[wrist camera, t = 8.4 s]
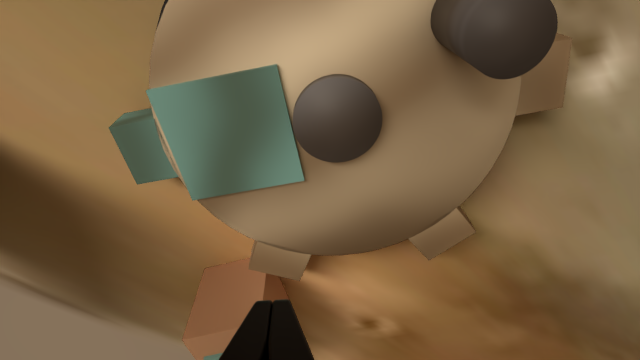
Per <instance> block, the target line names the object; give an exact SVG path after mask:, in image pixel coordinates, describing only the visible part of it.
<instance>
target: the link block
mask: <svg viewBox="0 0 640 360" xmlns="http://www.w3.org/2000/svg"><path fill="white" fill-rule="evenodd" d="M249 262H250V258H247V259H242V260H238V261H234V262H230V263H225V264H221V265H217V266H213V267H208V268H205V269H204V272H203V275H202V279H201V282H200V285H199V288H198V291H197V294H196V297H195V301H194V304H193V307H192V310H191V313H190V316H189V319H188V322H187V326H186V329H185V332H184V335H183V338H182V341H183V342H184V344H185V345H186V347H187V348H188V349H189V351H190V352H191V354H192V355H193V356H194V358H195V359H196V360H219V358H220V357H221V355H222V353H223V352H224V350H225V349H226V347H227V346H228V344H229V342H230V341H231V339H232V338H233V336H234V334H235V333H236V331H237V330H238V328H239V327H240V325H241V323H242V322H243V320H244V319H245V317H246V316H247V314H248V312H249V311H250V309H251V308H252V306H253V305H254V303H255V302H256V301H261V300H271V301H272V302H273V301H274V300H280V299H288V300H289V298H288V295H287V293H286V291H285V289H284V287H283V284H282V282H281V280H280V278H279V276H276V275H271V274H267V273H263V272H258V271H254V270H250V269H248V268H249Z"/></svg>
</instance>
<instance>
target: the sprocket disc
mask: <svg viewBox="0 0 640 360" xmlns="http://www.w3.org/2000/svg"><path fill="white" fill-rule="evenodd" d="M557 23H558V22H557V14H556V10H555V8H554V6H553V4H552V2H551V1H550V0H168V2H167V4H166V6H165V8H164V11H163V14H162V16H161V19H160V22H159V25H158V27H157V30H156V33H155V38H154V43H153V48H152V53H151V59H150V75H149V87H150V89H148V90H146V93H147V95H148V97H149V100H150V102H151V108H149V109H144V110H139V111H134V112H129V113H124V114H123V115H122V116H121V117H120V118H119V119H117V120H116V121H115V122H114V123H113V124H112V125H111V126H110V127H109V129H110V131H111V133H112V135H113V137H114V139H115V141H116V143H117V145H118V147H119V149H120V151H121V153H122V155H123V157H124V159H125V161H126V163H127V165H128V167H129V169H130V171H131V173H132V175H133V177H134V179H135V181H136V183H137V184H142V183H148V182H153V181H159V180H164V179H170V178H175V177H179V178H180V179H181V181H182V182H183V184H184V185H185V187H186V188H187V189H188V191H189V193H190V196H191V198H192V200H198V201H199V202H200V203H201V204H202V205H203V206H204V207H205V208H206V209H207V210H208V211H210V212H211V213H212V214H213V215H214V216H215V217H217V218H218V219H220V220H221V221H222V222H224V223H225V224H227V225H228V226H229V227H231V228H233V229H234V230H236V231H238V232H240V233H242V234H243V235H245V236H247V237H249V238H252V239H254V240H255V241H254V244H253V247H252V251H251V257H250V262H249V268H248V269H250V270H254V271H258V272H263V273H267V274H271V275H276V276H280V277H284V278H289V279H293V280H297V281H300V279H301V277H302V275H303V272H304V270H305V268H306V266H307V263H308V261H309V259H310V257H311V254H312V255H348V254H357V253H363V252H368V251H373V250H377V249H381V248H384V247H387V246H390V245H394V244H397V243H399V242H402V241H404V240H406V239H409V240H410V241H411V242H412V243H413V244H414V246H415V247H416V248H417V249H418V250H419V251H420V252H421V253H422V254H423V255H424V256H425V257H426V258H427V259H428V260H431V259H432V258H434V257H436V256H437V255H439V254H441V253H442V252H444V251H446V250H447V249H449V248H451V247H452V246H454V245H456V244H457V243H459V242H461V241H462V240H464V239H466V238H467V237H469V236H471V235H472V234H474V233H476V231H475V229H474V227H473V226H472V224H471V222H470V221H469V219H468V217H467V216H466V214H465V213H464V211H463V210H462V209H461V208H460V206H459V205H461V204H462V203H463V202H464V201H465V200H466V199H467V198H468V197H469V196H470V195H471V194H472V192H473V191H474V190H475V189H476V188H477V187H478V186H479V185H480V184H481V182H482V181H483V179H484V178H485V177H486V175H487V174H488V173H489V171H490V170H491V169H492V167H493V165H494V163H495V162H496V160H497V158H498V156H499V155H500V153H501V151H502V149H503V147H504V145H505V142H506V140H507V138H508V135H509V133H510V131H511V128H512V125H513V121H514V118H515V116H518V115H523V114H529V113H534V112H540V111H545V110H551V109H556V108H562V107H563V101H564V94H565V87H566V79H567V72H568V65H569V58H570V51H571V43H572V38H570V37H567V36H564V35H561V34H558V33H556V32H557Z"/></svg>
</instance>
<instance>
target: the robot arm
mask: <svg viewBox="0 0 640 360" xmlns="http://www.w3.org/2000/svg"><path fill="white" fill-rule="evenodd" d="M219 360H314V358H313V355H312V353H311V350H310V348H309V345H308V343H307V341H306V338H305V336H304V333H303V331H302V328H301V326H300V324H299V321H298V319H297V316H296V314H295V311H294V309H293V307H292V304H291V302H290V300H288V299H280V300H274V301H273V302H272V301H271V300H261V301H256V302H255V303H254V305H253V306H252V308H251V309H250V311H249V312H248V314H247V316H246V317H245V319H244V320H243V322H242V323H241V325H240V327H239V328H238V330H237V331H236V333H235V334H234V336H233V338H232V339H231V341H230V342H229V344H228V346H227V347H226V349H225V350H224V352H223V353H222V355H221V357H220V358H219Z"/></svg>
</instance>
